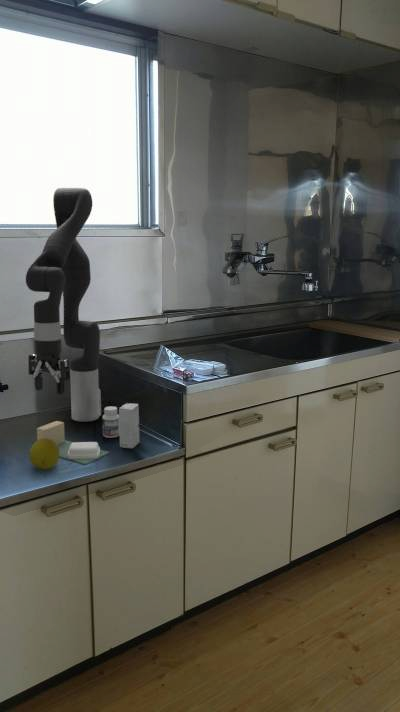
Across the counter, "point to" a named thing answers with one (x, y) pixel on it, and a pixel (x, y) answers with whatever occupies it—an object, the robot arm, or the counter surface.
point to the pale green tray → (62, 441)
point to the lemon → (44, 454)
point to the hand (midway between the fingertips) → (49, 392)
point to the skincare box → (129, 425)
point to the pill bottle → (110, 422)
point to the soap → (83, 450)
